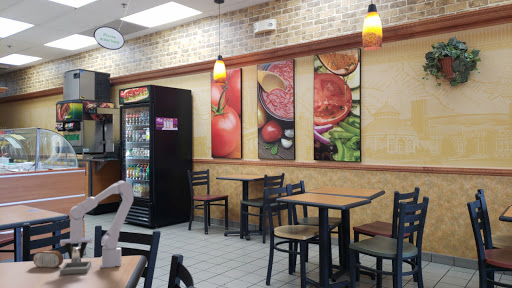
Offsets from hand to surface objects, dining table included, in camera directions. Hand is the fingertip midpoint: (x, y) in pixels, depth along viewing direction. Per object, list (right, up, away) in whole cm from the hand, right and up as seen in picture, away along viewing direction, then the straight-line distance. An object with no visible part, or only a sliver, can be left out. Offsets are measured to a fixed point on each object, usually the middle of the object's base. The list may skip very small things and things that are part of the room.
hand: (76, 258), depth 191 cm
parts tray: (0, -6, 0) cm, 6 cm away
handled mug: (0, -2, 0) cm, 2 cm away
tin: (-17, -6, +5) cm, 19 cm away
